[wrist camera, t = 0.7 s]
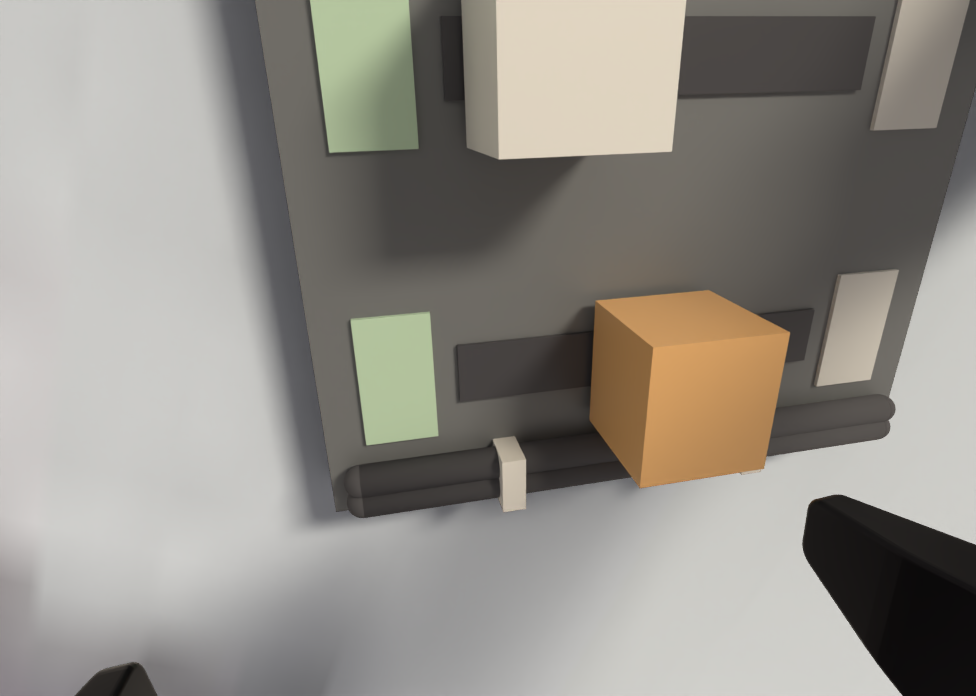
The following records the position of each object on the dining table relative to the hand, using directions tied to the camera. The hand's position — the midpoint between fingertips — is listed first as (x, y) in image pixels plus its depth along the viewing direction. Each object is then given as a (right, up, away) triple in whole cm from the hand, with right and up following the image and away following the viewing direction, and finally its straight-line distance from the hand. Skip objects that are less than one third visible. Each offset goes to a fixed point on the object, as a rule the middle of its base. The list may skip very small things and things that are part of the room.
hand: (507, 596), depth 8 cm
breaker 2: (+5, +3, +12) cm, 13 cm away
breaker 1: (+1, +11, +8) cm, 14 cm away
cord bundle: (+5, 0, +14) cm, 15 cm away
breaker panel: (+5, +8, +13) cm, 16 cm away
